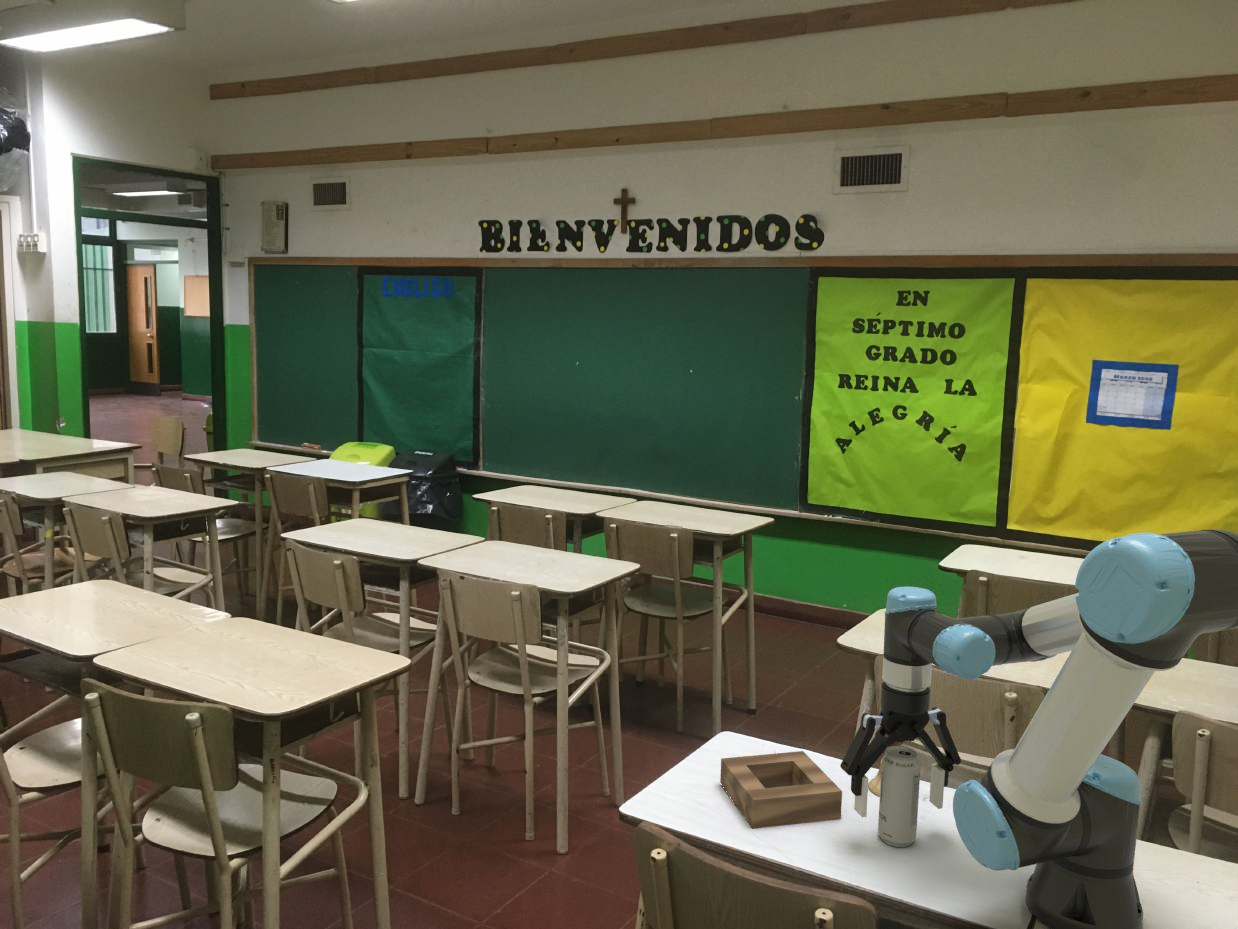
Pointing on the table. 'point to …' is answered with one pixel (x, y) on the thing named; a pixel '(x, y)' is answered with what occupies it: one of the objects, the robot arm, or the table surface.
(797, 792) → the square wooden frame
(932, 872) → the table surface
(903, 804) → the energy drink can
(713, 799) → the table surface
